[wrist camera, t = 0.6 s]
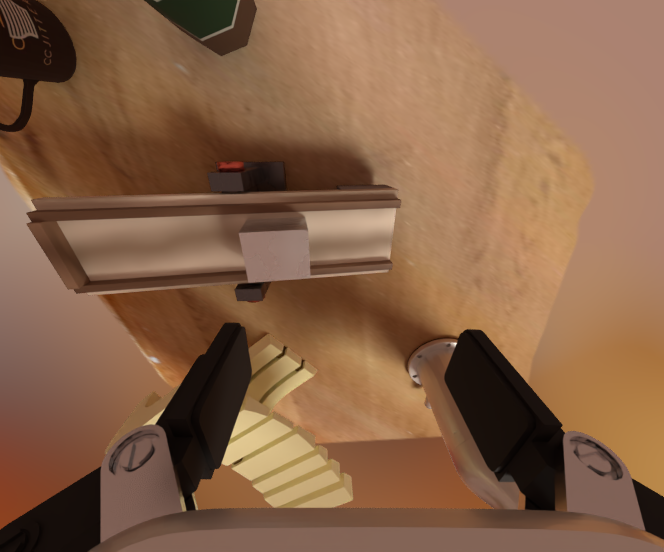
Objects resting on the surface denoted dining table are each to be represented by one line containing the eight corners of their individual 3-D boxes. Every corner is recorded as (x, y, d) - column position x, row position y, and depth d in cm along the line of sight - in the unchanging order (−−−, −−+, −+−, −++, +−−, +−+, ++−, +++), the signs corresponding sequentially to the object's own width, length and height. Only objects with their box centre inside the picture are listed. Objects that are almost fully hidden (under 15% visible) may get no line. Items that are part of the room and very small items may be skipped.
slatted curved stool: (177, 351, 44) (94, 463, 28) (230, 304, 39) (164, 408, 23) (293, 419, 55) (278, 527, 39) (345, 390, 50) (353, 500, 34)
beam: (377, 258, 34) (392, 277, 29) (113, 277, 29) (76, 303, 24) (384, 184, 29) (404, 191, 24) (70, 192, 24) (13, 203, 19)
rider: (307, 259, 27) (310, 278, 23) (254, 263, 27) (248, 282, 23) (305, 216, 25) (308, 229, 21) (246, 219, 24) (238, 232, 20)
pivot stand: (293, 271, 36) (284, 305, 28) (241, 272, 36) (217, 306, 28) (283, 159, 29) (266, 162, 21) (218, 159, 29) (176, 163, 21)
